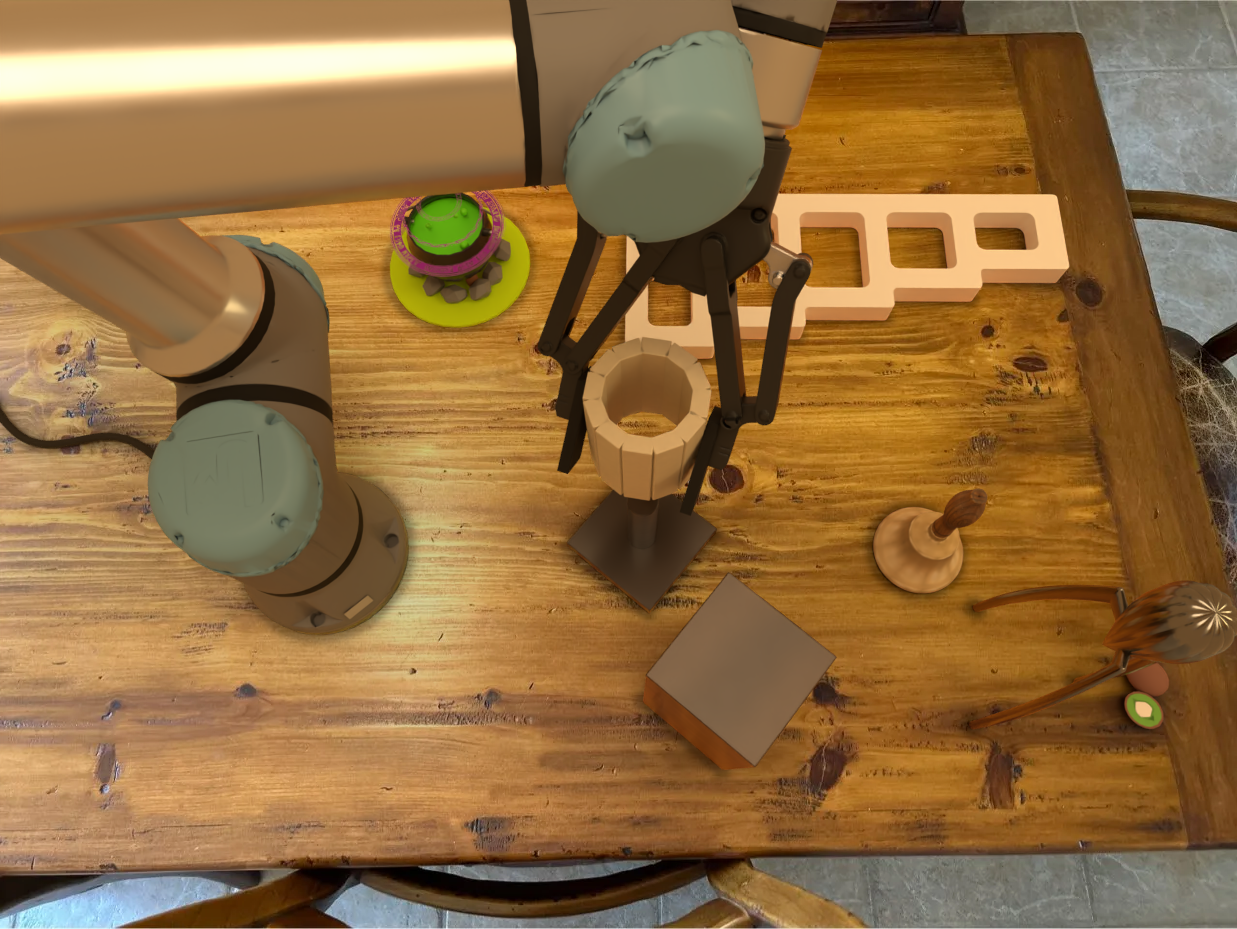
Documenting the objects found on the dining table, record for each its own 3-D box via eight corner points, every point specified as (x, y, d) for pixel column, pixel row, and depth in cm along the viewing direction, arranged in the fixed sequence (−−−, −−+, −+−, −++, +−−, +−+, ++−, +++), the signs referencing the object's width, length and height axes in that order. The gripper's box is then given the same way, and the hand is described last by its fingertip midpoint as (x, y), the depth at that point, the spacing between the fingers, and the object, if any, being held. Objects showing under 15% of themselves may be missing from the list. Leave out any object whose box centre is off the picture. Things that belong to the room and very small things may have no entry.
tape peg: (567, 546, 84) (556, 508, 72) (634, 469, 86) (634, 420, 74) (649, 613, 81) (651, 586, 70) (715, 532, 84) (729, 492, 72)
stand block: (642, 702, 79) (645, 675, 58) (704, 624, 81) (728, 571, 60) (722, 770, 77) (755, 767, 56) (784, 688, 79) (837, 656, 58)
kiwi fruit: (1093, 685, 78) (1108, 682, 76) (1132, 649, 79) (1148, 644, 77) (1141, 736, 77) (1158, 735, 74) (1181, 698, 78) (1198, 696, 75)
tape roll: (569, 454, 60) (558, 402, 52) (638, 378, 62) (638, 315, 54) (653, 521, 59) (656, 478, 50) (721, 441, 60) (735, 386, 52)
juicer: (974, 602, 81) (1156, 510, 53) (1082, 681, 79) (1333, 628, 50) (916, 687, 79) (1073, 637, 51) (1025, 771, 76) (1256, 768, 48)
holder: (1045, 210, 95) (1056, 194, 93) (1071, 361, 89) (1084, 348, 87) (627, 208, 96) (627, 193, 94) (625, 358, 90) (624, 345, 88)
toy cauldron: (543, 216, 96) (532, 147, 86) (513, 337, 91) (498, 281, 81) (410, 197, 97) (383, 127, 87) (373, 316, 92) (340, 257, 82)
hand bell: (856, 527, 84) (905, 473, 69) (933, 494, 85) (998, 432, 70) (900, 607, 81) (960, 569, 66) (979, 572, 82) (1056, 526, 67)
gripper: (913, 164, 49) (785, 509, 59) (569, 69, 52) (504, 416, 62) (919, 178, 43) (774, 564, 53) (525, 69, 45) (460, 457, 55)
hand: (628, 484), depth 57 cm, fingers closed on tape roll, 8 cm apart
